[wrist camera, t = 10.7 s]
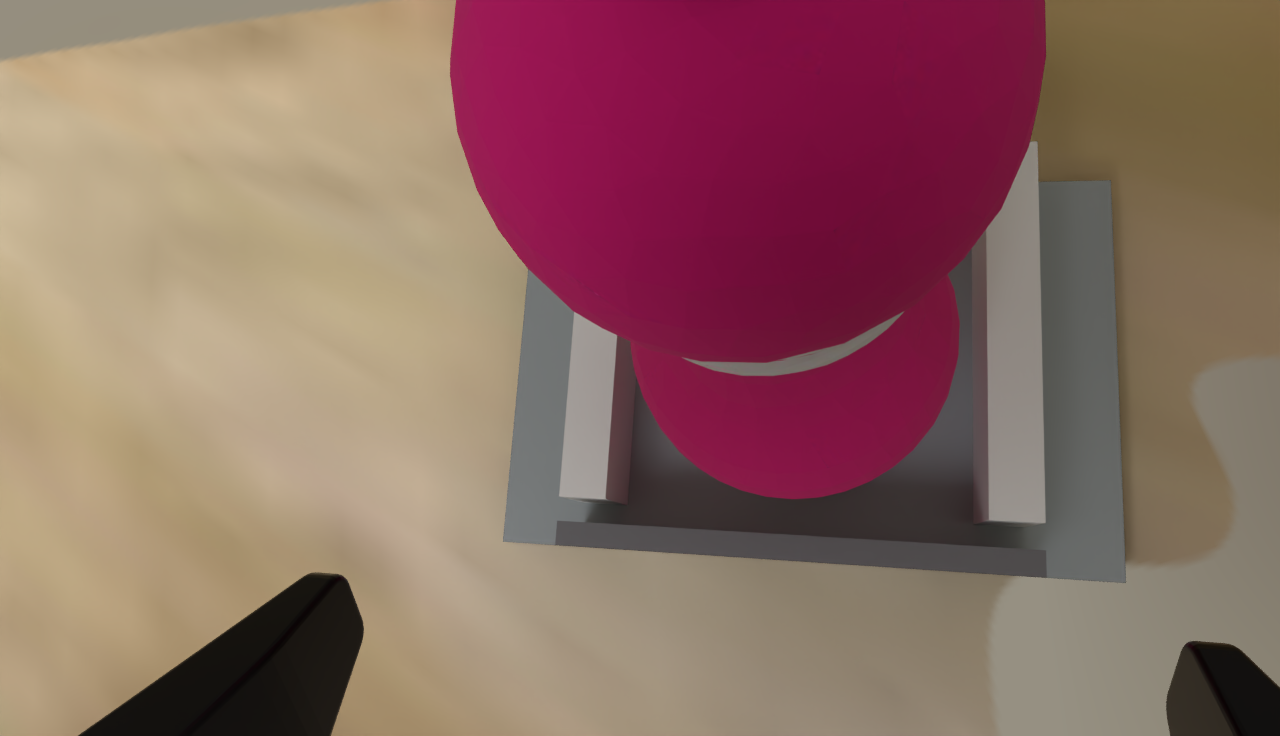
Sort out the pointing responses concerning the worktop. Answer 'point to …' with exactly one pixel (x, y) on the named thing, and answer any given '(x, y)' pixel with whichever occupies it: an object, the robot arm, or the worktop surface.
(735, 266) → the pepper mill
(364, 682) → the worktop surface
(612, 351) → the rail dock
